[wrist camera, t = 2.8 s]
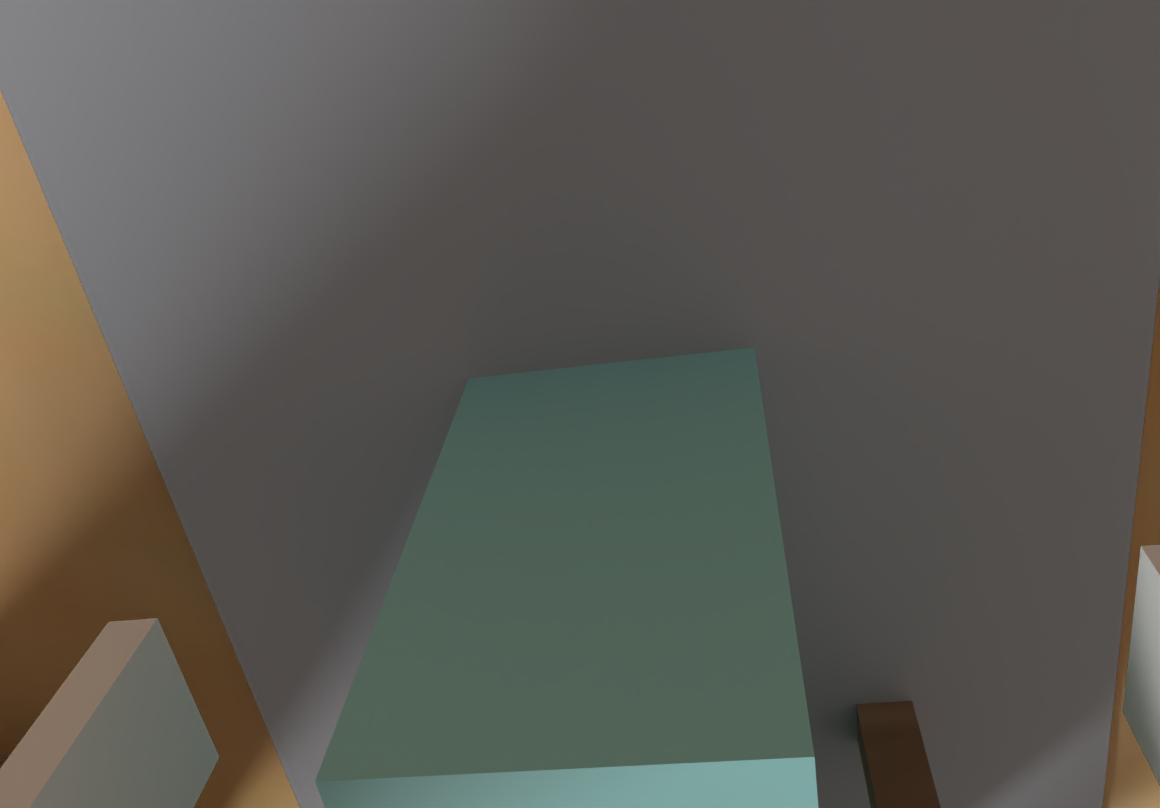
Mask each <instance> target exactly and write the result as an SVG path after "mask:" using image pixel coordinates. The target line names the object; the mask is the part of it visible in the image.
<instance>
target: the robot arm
mask: <svg viewBox="0 0 1160 808" xmlns="http://www.w3.org/2000/svg"><path fill="white" fill-rule="evenodd" d="M1123 713H1124V715H1125V717H1126V719H1127V721H1128V723H1129V725H1130V727H1131V729H1132V731H1133V733H1134V735H1135V737H1136V739H1137V741H1138V743H1139V745H1140V747H1141V749H1142V751H1143V753H1144V755H1145V757H1146V759H1147V761H1148V763H1149V765H1150V767H1151V769H1152V771H1153V773H1154V775H1155V777H1156V779H1157V781H1158V783H1159V785H1160V545H1147V546H1141V549H1140V558H1139V567H1138V576H1137V586H1136V595H1135V604H1134V613H1133V622H1132V631H1131V640H1130V650H1129V659H1128V668H1127V677H1126V686H1125V695H1124V704H1123ZM218 759H219V755H218V753H217V751H216V748H215V746H214V744H213V742H212V739H211V737H210V735H209V733H208V730H207V728H206V726H205V724H204V721H203V719H202V717H201V715H200V712H199V710H198V708H197V706H196V703H195V701H194V699H193V697H192V694H191V692H190V690H189V688H188V685H187V683H186V681H185V679H184V676H183V674H182V672H181V670H180V667H179V665H178V663H177V661H176V658H175V656H174V654H173V652H172V649H171V647H170V645H169V643H168V640H167V638H166V636H165V634H164V631H163V629H162V627H161V625H160V622H159V620H158V618H152V619H138V620H125V621H111V622H108V623H107V624H106V626H105V627H104V628H103V630H102V631H101V632H100V634H99V635H98V637H97V638H96V639H95V641H94V642H93V643H92V645H91V646H90V647H89V649H88V650H87V651H86V653H85V654H84V655H83V657H82V658H81V660H80V661H79V662H78V664H77V665H76V666H75V668H74V669H73V670H72V672H71V673H70V674H69V676H68V677H67V679H66V680H65V681H64V683H63V684H62V685H61V687H60V688H59V689H58V691H57V692H56V693H55V695H54V696H53V698H52V699H51V700H50V702H49V703H48V704H47V706H46V707H45V708H44V710H43V711H42V712H41V714H40V715H39V717H38V718H37V719H36V721H35V722H34V723H33V725H32V726H31V727H30V729H29V730H28V731H27V733H26V734H25V735H24V737H23V738H22V740H21V741H20V742H19V744H18V745H17V746H16V748H15V749H14V750H13V752H12V753H11V754H10V756H9V757H8V759H7V760H6V761H5V763H4V764H3V765H2V767H1V768H0V808H194V806H195V804H196V802H197V800H198V798H199V796H200V794H201V792H202V791H203V789H204V787H205V785H206V783H207V781H208V779H209V777H210V775H211V773H212V771H213V769H214V767H215V765H216V763H217V761H218Z"/></svg>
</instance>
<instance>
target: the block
mask: <svg viewBox="0 0 1160 808" xmlns="http://www.w3.org/2000/svg"><path fill="white" fill-rule="evenodd" d="M315 783H316V786H317V788H318V791H319V793H320V796H321V798H322V801H323V803H324V806H325V808H818V795H817V782H816V769H815V757H814V750H813V743H812V736H811V729H810V723H809V716H808V709H807V702H806V695H805V688H804V682H803V675H802V668H801V661H800V654H799V647H798V641H797V634H796V627H795V620H794V613H793V607H792V600H791V593H790V586H789V579H788V572H787V566H786V559H785V552H784V545H783V538H782V531H781V525H780V518H779V511H778V504H777V497H776V491H775V484H774V477H773V470H772V463H771V456H770V450H769V443H768V436H767V429H766V422H765V416H764V409H763V402H762V395H761V388H760V381H759V375H758V368H757V361H756V354H755V347H753V348H743V349H734V350H725V351H716V352H707V353H697V354H688V355H679V356H670V357H660V358H651V359H642V360H633V361H624V362H614V363H605V364H596V365H587V366H577V367H568V368H559V369H550V370H541V371H531V372H522V373H513V374H504V375H494V376H485V377H476V378H469V379H468V382H467V384H466V387H465V389H464V392H463V395H462V397H461V400H460V402H459V405H458V408H457V410H456V413H455V416H454V418H453V421H452V423H451V426H450V429H449V431H448V434H447V437H446V439H445V442H444V444H443V447H442V450H441V452H440V455H439V457H438V460H437V463H436V465H435V468H434V471H433V473H432V476H431V478H430V481H429V484H428V486H427V489H426V492H425V494H424V497H423V499H422V502H421V505H420V507H419V510H418V513H417V515H416V518H415V520H414V523H413V526H412V528H411V531H410V533H409V536H408V539H407V541H406V544H405V547H404V549H403V552H402V554H401V557H400V560H399V562H398V565H397V568H396V570H395V573H394V575H393V578H392V581H391V583H390V586H389V588H388V591H387V594H386V596H385V599H384V602H383V604H382V607H381V609H380V612H379V615H378V617H377V620H376V623H375V625H374V628H373V630H372V633H371V636H370V638H369V641H368V644H367V646H366V649H365V651H364V654H363V657H362V659H361V662H360V664H359V667H358V670H357V672H356V675H355V678H354V680H353V683H352V685H351V688H350V691H349V693H348V696H347V699H346V701H345V704H344V706H343V709H342V712H341V714H340V717H339V719H338V722H337V725H336V727H335V730H334V733H333V735H332V738H331V740H330V743H329V746H328V748H327V751H326V754H325V756H324V759H323V761H322V764H321V767H320V769H319V772H318V775H317V777H316V780H315Z"/></svg>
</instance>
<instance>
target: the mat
mask: <svg viewBox="0 0 1160 808" xmlns="http://www.w3.org/2000/svg"><path fill="white" fill-rule="evenodd" d="M0 90H1V92H2V94H3V97H4V99H5V102H6V104H7V106H8V109H9V111H10V114H11V116H12V118H13V121H14V123H15V126H16V128H17V130H18V133H19V135H20V138H21V140H22V142H23V145H24V147H25V150H26V152H27V154H28V157H29V159H30V162H31V164H32V166H33V169H34V171H35V174H36V176H37V178H38V181H39V183H40V186H41V188H42V190H43V193H44V195H45V198H46V200H47V202H48V205H49V207H50V210H51V212H52V214H53V217H54V219H55V222H56V224H57V226H58V229H59V231H60V234H61V236H62V238H63V241H64V243H65V246H66V248H67V250H68V253H69V255H70V258H71V260H72V262H73V265H74V267H75V270H76V272H77V274H78V277H79V279H80V282H81V284H82V286H83V289H84V291H85V294H86V296H87V298H88V301H89V303H90V305H91V308H92V310H93V313H94V315H95V317H96V320H97V322H98V325H99V327H100V329H101V332H102V334H103V337H104V339H105V341H106V344H107V346H108V349H109V351H110V353H111V356H112V358H113V361H114V363H115V365H116V368H117V370H118V373H119V375H120V377H121V380H122V382H123V385H124V387H125V389H126V392H127V394H128V397H129V399H130V401H131V404H132V406H133V409H134V411H135V413H136V416H137V418H138V421H139V423H140V425H141V428H142V430H143V433H144V435H145V437H146V440H147V442H148V445H149V447H150V449H151V452H152V454H153V457H154V459H155V461H156V464H157V466H158V469H159V471H160V473H161V476H162V478H163V481H164V483H165V485H166V488H167V490H168V493H169V495H170V497H171V500H172V502H173V505H174V507H175V509H176V512H177V514H178V517H179V519H180V521H181V524H182V526H183V529H184V531H185V533H186V536H187V538H188V541H189V543H190V545H191V548H192V550H193V553H194V555H195V557H196V560H197V562H198V565H199V567H200V569H201V572H202V574H203V577H204V579H205V581H206V584H207V586H208V589H209V591H210V593H211V596H212V598H213V601H214V603H215V605H216V608H217V610H218V613H219V615H220V617H221V620H222V622H223V625H224V627H225V629H226V632H227V634H228V637H229V639H230V641H231V644H232V646H233V649H234V651H235V653H236V656H237V658H238V661H239V663H240V665H241V668H242V670H243V673H244V675H245V677H246V680H247V682H248V684H249V687H250V689H251V692H252V694H253V696H254V699H255V701H256V704H257V706H258V708H259V711H260V713H261V716H262V718H263V720H264V723H265V725H266V728H267V730H268V732H269V735H270V737H271V740H272V742H273V744H274V747H275V749H276V752H277V754H278V756H279V759H280V761H281V764H282V766H283V768H284V771H285V773H286V776H287V778H288V780H289V783H290V785H291V788H292V790H293V792H294V795H295V797H296V800H297V802H298V804H299V807H300V808H325V806H324V803H323V801H322V798H321V796H320V793H319V791H318V788H317V786H316V783H315V780H316V777H317V775H318V772H319V769H320V767H321V764H322V761H323V759H324V756H325V754H326V751H327V748H328V746H329V743H330V740H331V738H332V735H333V733H334V730H335V727H336V725H337V722H338V719H339V717H340V714H341V712H342V709H343V706H344V704H345V701H346V699H347V696H348V693H349V691H350V688H351V685H352V683H353V680H354V678H355V675H356V672H357V670H358V667H359V664H360V662H361V659H362V657H363V654H364V651H365V649H366V646H367V644H368V641H369V638H370V636H371V633H372V630H373V628H374V625H375V623H376V620H377V617H378V615H379V612H380V609H381V607H382V604H383V602H384V599H385V596H386V594H387V591H388V588H389V586H390V583H391V581H392V578H393V575H394V573H395V570H396V568H397V565H398V562H399V560H400V557H401V554H402V552H403V549H404V547H405V544H406V541H407V539H408V536H409V533H410V531H411V528H412V526H413V523H414V520H415V518H416V515H417V513H418V510H419V507H420V505H421V502H422V499H423V497H424V494H425V492H426V489H427V486H428V484H429V481H430V478H431V476H432V473H433V471H434V468H435V465H436V463H437V460H438V457H439V455H440V452H441V450H442V447H443V444H444V442H445V439H446V437H447V434H448V431H449V429H450V426H451V423H452V421H453V418H454V416H455V413H456V410H457V408H458V405H459V402H460V400H461V397H462V395H463V392H464V389H465V387H466V384H467V382H468V379H469V378H476V377H485V376H494V375H504V374H513V373H522V372H531V371H541V370H550V369H559V368H568V367H577V366H587V365H596V364H605V363H614V362H624V361H633V360H642V359H651V358H660V357H670V356H679V355H688V354H697V353H707V352H716V351H725V350H734V349H743V348H753V347H755V354H756V361H757V368H758V375H759V381H760V388H761V395H762V402H763V409H764V416H765V422H766V429H767V436H768V443H769V450H770V456H771V463H772V470H773V477H774V484H775V491H776V497H777V504H778V511H779V518H780V525H781V531H782V538H783V545H784V552H785V559H786V566H787V572H788V579H789V586H790V593H791V600H792V607H793V613H794V620H795V627H796V634H797V641H798V647H799V654H800V661H801V668H802V675H803V682H804V688H805V695H806V702H807V709H808V716H809V723H810V729H811V736H812V743H813V750H814V757H815V769H816V782H817V795H818V808H871V806H870V801H869V796H868V791H867V786H866V781H865V775H864V770H863V765H862V760H861V755H860V750H859V745H858V730H857V710H856V704H866V703H884V702H901V701H912V702H913V706H914V710H915V713H916V717H917V721H918V725H919V728H920V732H921V736H922V739H923V743H924V747H925V751H926V754H927V758H928V762H929V766H930V769H931V773H932V777H933V781H934V784H935V788H936V792H937V795H938V799H939V803H940V807H941V808H1102V806H1103V796H1104V787H1105V778H1106V769H1107V760H1108V750H1109V741H1110V732H1111V723H1112V714H1113V705H1114V695H1115V686H1116V677H1117V668H1118V659H1119V649H1120V640H1121V631H1122V622H1123V613H1124V603H1125V594H1126V585H1127V576H1128V567H1129V557H1130V548H1131V539H1132V530H1133V521H1134V512H1135V502H1136V493H1137V484H1138V475H1139V466H1140V456H1141V447H1142V438H1143V429H1144V420H1145V410H1146V401H1147V392H1148V383H1149V374H1150V364H1151V355H1152V346H1153V337H1154V328H1155V319H1156V309H1157V300H1158V291H1159V282H1160V0H0Z"/></svg>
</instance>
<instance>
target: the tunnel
mask: <svg viewBox="0 0 1160 808" xmlns="http://www.w3.org/2000/svg"><path fill="white" fill-rule="evenodd" d="M856 710H857V730H858V745H859V750H860V755H861V760H862V765H863V770H864V775H865V781H866V786H867V791H868V796H869V801H870V806H871V808H941V807H940V803H939V799H938V795H937V792H936V788H935V784H934V781H933V777H932V773H931V769H930V766H929V762H928V758H927V754H926V751H925V747H924V743H923V739H922V736H921V732H920V728H919V725H918V721H917V717H916V713H915V710H914V706H913V702H912V701H901V702H884V703H866V704H856Z"/></svg>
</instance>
